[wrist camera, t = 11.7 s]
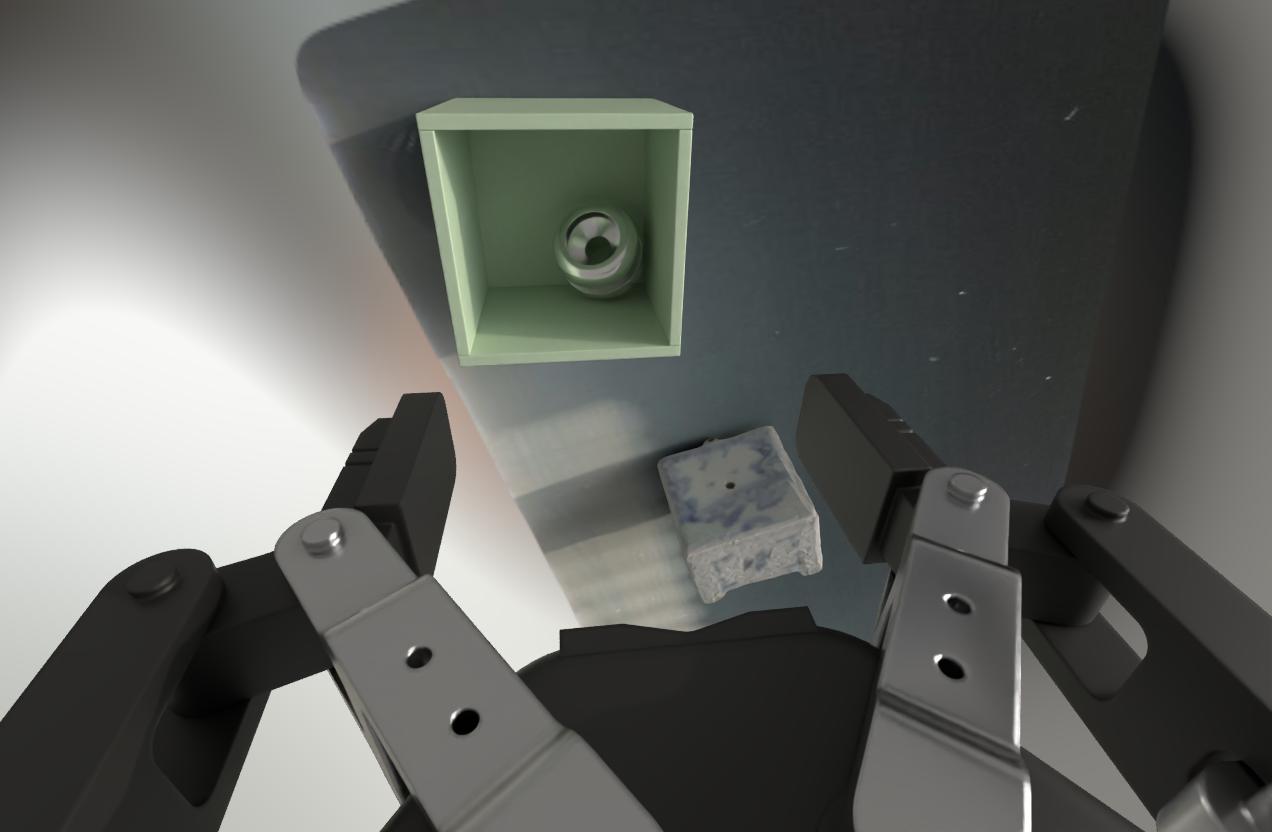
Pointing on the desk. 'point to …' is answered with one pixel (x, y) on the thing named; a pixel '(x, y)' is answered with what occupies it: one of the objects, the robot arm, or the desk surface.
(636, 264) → the metal grooved wheel
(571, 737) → the robot arm
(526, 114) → the waste bin
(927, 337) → the desk surface
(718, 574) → the incense holder
